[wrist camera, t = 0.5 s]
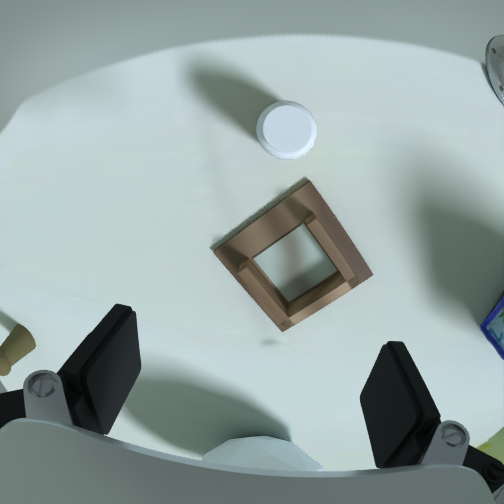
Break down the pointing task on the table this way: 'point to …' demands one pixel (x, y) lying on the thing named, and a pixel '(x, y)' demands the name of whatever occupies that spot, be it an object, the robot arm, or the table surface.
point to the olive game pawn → (15, 348)
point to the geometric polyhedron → (263, 454)
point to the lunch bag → (495, 328)
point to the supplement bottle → (286, 130)
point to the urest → (294, 258)
